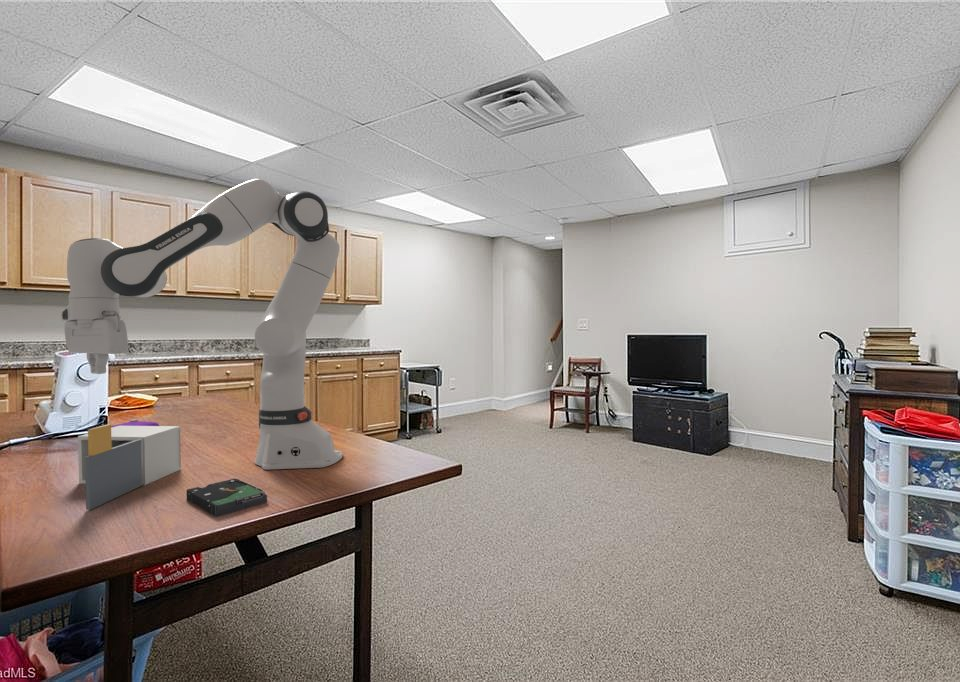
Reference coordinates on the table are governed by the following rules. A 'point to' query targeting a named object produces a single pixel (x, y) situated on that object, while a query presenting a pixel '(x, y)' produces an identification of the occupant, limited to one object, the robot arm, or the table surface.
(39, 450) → the table surface
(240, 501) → the disk drive
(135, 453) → the side door
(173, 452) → the box
